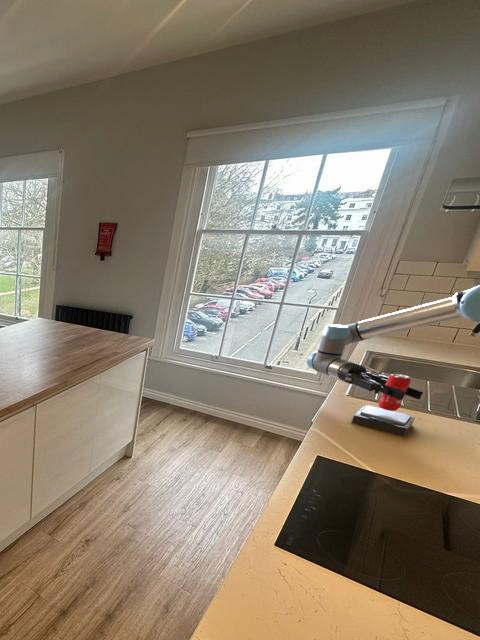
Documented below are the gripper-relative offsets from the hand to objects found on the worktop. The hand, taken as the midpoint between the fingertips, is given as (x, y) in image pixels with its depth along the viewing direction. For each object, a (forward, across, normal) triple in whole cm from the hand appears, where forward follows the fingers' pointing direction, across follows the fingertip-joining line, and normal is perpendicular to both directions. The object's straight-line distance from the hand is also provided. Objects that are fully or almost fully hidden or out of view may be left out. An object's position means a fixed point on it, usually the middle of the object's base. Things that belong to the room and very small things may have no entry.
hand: (411, 395), depth 130 cm
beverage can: (-5, 0, -7) cm, 9 cm away
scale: (-5, +1, -13) cm, 14 cm away
